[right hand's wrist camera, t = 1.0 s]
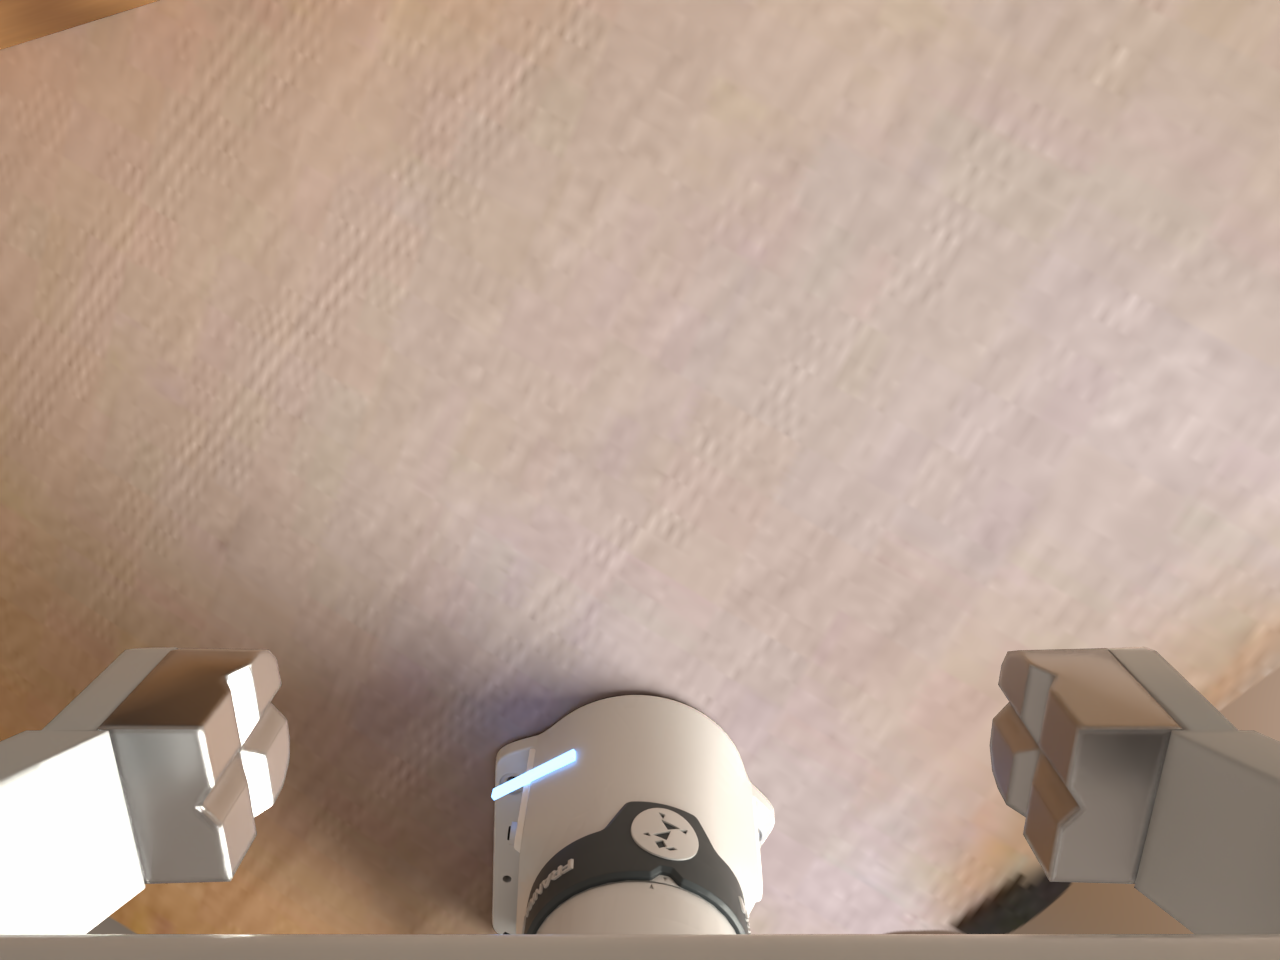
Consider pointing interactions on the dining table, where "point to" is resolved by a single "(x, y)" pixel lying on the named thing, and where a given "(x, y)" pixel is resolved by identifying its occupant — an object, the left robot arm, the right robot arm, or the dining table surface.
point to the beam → (53, 16)
